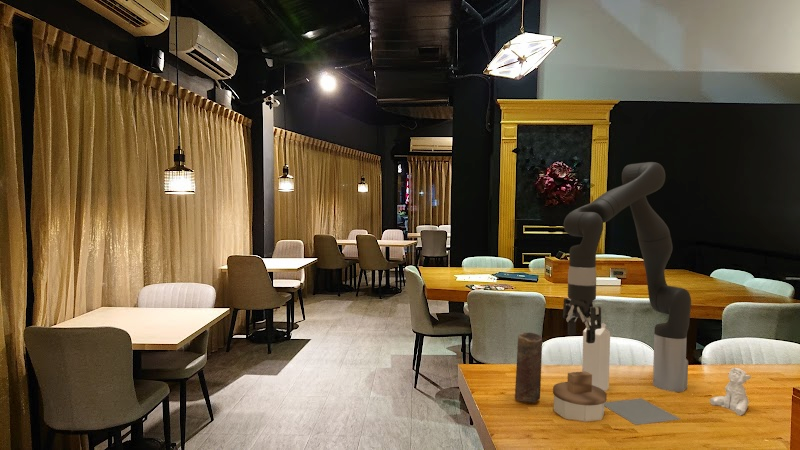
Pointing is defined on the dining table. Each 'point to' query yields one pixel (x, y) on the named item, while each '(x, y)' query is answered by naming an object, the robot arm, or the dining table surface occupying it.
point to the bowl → (578, 410)
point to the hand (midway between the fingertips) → (580, 338)
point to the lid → (579, 390)
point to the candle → (528, 367)
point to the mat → (639, 411)
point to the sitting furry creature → (734, 393)
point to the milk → (597, 357)
